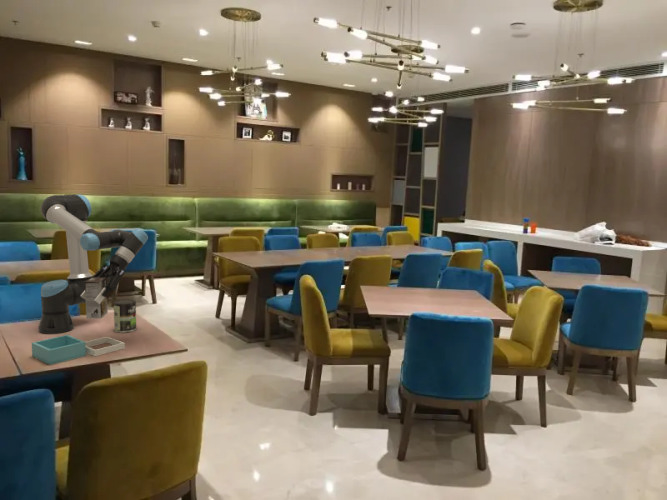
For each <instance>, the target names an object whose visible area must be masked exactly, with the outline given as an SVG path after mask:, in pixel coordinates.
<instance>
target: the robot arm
mask: <svg viewBox="0 0 667 500" xmlns="http://www.w3.org/2000/svg"><path fill="white" fill-rule="evenodd" d="M40 212H41V215H42V217H43V218H44V219H45V220H46V221H47V222H49V223H51V224H54V225H55V224H56V226H59V228H61V229H63V230H64V231H65V235H66V236H65V237H66V246H67V256H68V265H69V266H68V267H69V275H68V276H67V277H66V279H67V280H65V279H55V280H50V281H47V282H45V283H43V284H42V285H41V288H40V298H41V300H40V301H41V318H40V321H39V325H38V332H39V333H41V334H45V335H46V334H52V335H53V334H62V333H67V332H69V331H72V330H73V329H74V328H75V327H74V326H75V325H74V321H73V319H72V317H71V314H70V308H69V307H71V306H74V305H79V304H86V297H85V281H87V280H88V279H90V278H91V277H101V278H106V279H107V278H108V280H107V281H106V286H105V288H103V290H102V291H101V292H100V293H99V295H98V296H97V297H96V299H95V301H96V302H97V303H98V304H100V303H101V302H102V300H103V299H104V298H105V297H106V296H107V297H108V294H109V293H110V292H112V291H114V292H115V290H116V289H117V287H118V286H119V283H120V281H121V279H122V277H123V276H124V275H125V274H126V273H125V270H126V268H127V267H128V266H129V264H130V263H131V262H132V261H133V259H134V258H135V257H136V255H137V254H138V253H139V251H140V250H142V248H143V247H144V245H145V244H146V243H147V241H148V239H149V236H148V233H146V231H144V230H142V229H141V228H137V227H135V228H134V229H133V230H132V231H131V232H130V231H125V230H122V229H115V228H114V229H113V228H112V229H111V230H110V231H97V230H95V229H94V228H93V227H91V226H90V225H88V224H86V223H88V218H89V217H90V216H91V215H92V204H91V202H90V200H89V199H88V197H86V196H85V195H83V194H59V195H58V194H54V195H50V196H47V197H46V198H45V199H44V200H43V201H42V202H41V205H40ZM114 248H118V249H117V250H116V251H115V253H114V254H113V255H112V256H111V258H110V259H109V264H108V265H105V264H104V265H102V267H101V268H100V269H99V270H98V271H96V272H95V274H92V273H91V272H90V271H89V269H90V268H89V258H88V257H89V256H88V251H91V252H92V251H99V250H105V249H114Z"/></svg>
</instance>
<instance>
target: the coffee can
mask: <svg viewBox="0 0 667 500" xmlns="http://www.w3.org/2000/svg"><path fill="white" fill-rule="evenodd" d="M113 323H114V331H115V332H116V333H123V334H124V333H131V332H135V331H136V330H137V301H136V300H135V299H131V298H130V299H118V300H115V301H113Z"/></svg>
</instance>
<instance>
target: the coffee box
mask: <svg viewBox="0 0 667 500" xmlns="http://www.w3.org/2000/svg"><path fill="white" fill-rule="evenodd" d="M106 285H107V278H101V277H91V278H90V279H88V280H87V281H85V297H86V303H85V314H86V315H85V316H86V319H89V320H90V319H92V320H93V319H103V318H104V317H105V315H107V314H108V295H107V296H106V297H105V298H104V299H103V300H102V302H101V303H100V304H98V303H97V302H96V301H95V299H96V297H97V296H98V295H99V293H100V292H101V291H102V290H103V288H105V286H106Z"/></svg>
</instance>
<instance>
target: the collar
mask: <svg viewBox="0 0 667 500" xmlns="http://www.w3.org/2000/svg"><path fill="white" fill-rule="evenodd" d="M84 342H85V348H86V354H89V355H90V356H93V357H97V356H101V355H105V354H110V353H113V352H116V351H120V350H123V349H126V343H125V342H123V341H121V340H118V339H116V338H113V337H110V336H104V337H100V338H94V339H91V340H86V341H84ZM103 344H109V345H107V346H105V347H102V348H101V347H100V348H97V349H94V348H92V347H94V346H95V347H96V346H97V345H103Z"/></svg>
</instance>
